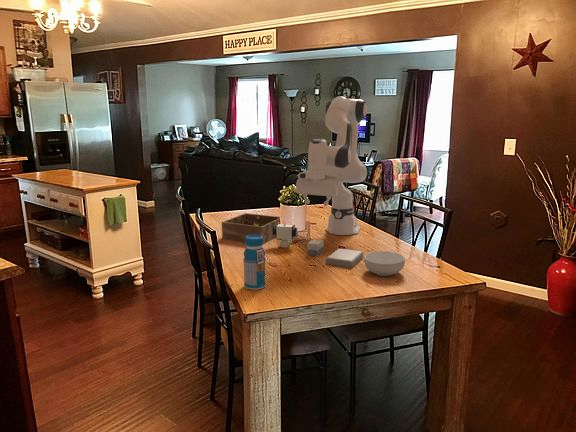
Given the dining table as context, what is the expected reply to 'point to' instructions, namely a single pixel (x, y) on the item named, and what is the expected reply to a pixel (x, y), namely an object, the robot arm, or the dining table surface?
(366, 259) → the cereal bowl
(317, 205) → the dining table surface
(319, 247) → the block
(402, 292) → the dining table surface
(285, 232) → the pneumatic valve
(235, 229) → the planter crate
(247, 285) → the beverage bottle
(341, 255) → the plinth
